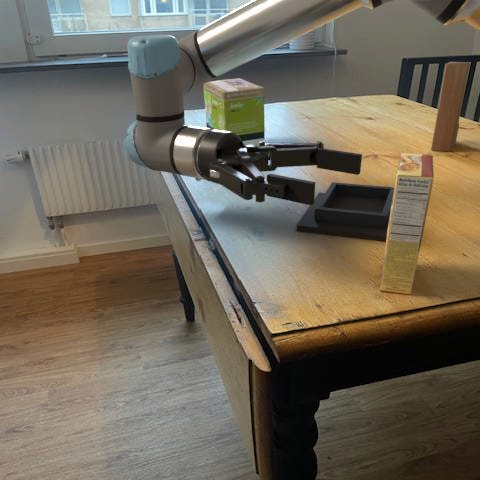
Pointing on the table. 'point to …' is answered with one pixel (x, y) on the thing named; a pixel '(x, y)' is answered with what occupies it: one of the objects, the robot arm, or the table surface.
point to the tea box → (236, 109)
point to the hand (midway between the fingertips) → (338, 178)
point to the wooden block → (450, 106)
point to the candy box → (406, 221)
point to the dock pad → (350, 212)
